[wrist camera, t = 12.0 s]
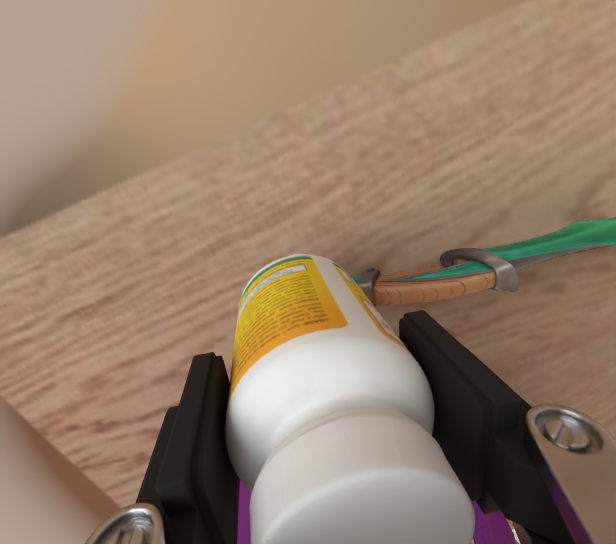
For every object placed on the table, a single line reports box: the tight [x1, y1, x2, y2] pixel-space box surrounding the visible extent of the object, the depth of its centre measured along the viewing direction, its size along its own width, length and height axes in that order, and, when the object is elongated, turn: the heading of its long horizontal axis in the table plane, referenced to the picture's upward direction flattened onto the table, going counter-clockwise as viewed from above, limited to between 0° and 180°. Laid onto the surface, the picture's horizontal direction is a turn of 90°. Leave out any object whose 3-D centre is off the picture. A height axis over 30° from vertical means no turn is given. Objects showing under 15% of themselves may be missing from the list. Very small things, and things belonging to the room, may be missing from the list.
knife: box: [353, 218, 616, 307], centre depth 17 cm, size 21×2×5 cm, turn 102°
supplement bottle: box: [225, 254, 475, 544], centre depth 10 cm, size 5×5×10 cm
